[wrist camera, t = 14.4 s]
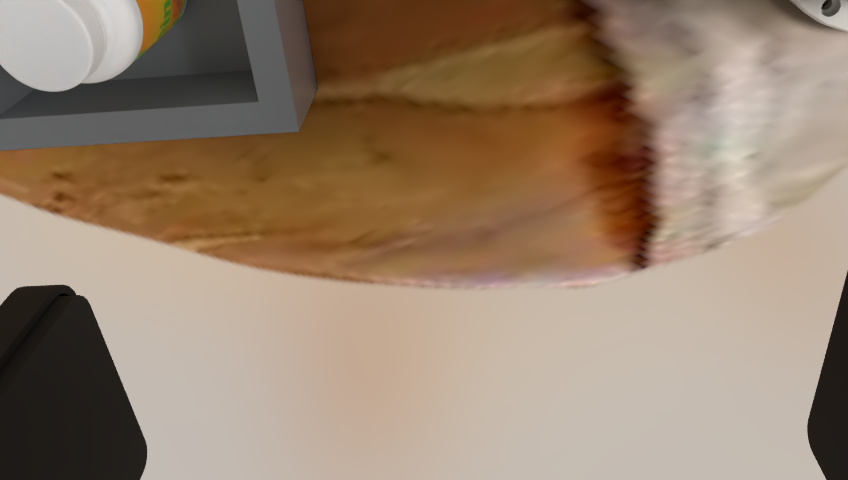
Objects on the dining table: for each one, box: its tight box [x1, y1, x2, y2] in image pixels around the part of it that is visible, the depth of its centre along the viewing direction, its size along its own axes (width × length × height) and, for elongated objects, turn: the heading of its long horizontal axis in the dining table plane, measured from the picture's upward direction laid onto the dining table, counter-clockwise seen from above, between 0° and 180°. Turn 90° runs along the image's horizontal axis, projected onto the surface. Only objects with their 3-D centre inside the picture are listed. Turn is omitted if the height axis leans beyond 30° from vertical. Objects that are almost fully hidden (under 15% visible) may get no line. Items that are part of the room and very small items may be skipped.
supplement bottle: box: [0, 0, 187, 92], centre depth 32 cm, size 5×5×10 cm
